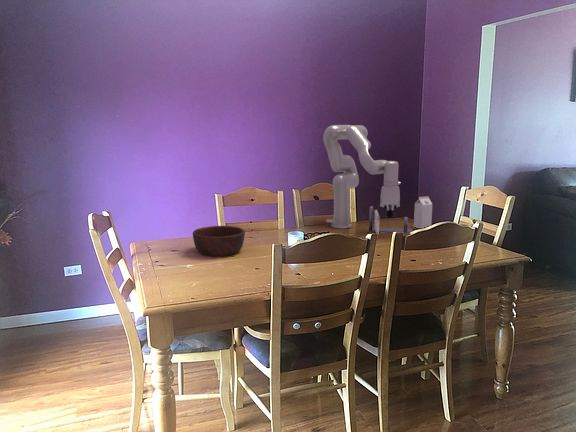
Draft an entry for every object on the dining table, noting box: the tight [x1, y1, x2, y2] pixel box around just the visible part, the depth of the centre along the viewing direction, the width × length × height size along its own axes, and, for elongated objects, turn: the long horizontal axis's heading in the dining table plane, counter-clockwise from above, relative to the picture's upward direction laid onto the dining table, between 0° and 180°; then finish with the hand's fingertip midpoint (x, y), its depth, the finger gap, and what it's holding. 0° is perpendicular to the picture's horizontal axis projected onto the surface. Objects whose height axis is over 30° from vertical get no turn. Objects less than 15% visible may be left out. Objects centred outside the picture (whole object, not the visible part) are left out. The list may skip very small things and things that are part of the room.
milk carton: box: [413, 196, 433, 229], centre depth 293 cm, size 7×7×19 cm
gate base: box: [367, 205, 414, 235], centre depth 286 cm, size 25×9×14 cm, turn 79°
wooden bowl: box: [192, 225, 245, 258], centre depth 245 cm, size 25×25×10 cm
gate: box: [373, 209, 381, 236], centre depth 279 cm, size 19×2×10 cm, turn 175°
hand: (389, 217), depth 276 cm, fingers closed
